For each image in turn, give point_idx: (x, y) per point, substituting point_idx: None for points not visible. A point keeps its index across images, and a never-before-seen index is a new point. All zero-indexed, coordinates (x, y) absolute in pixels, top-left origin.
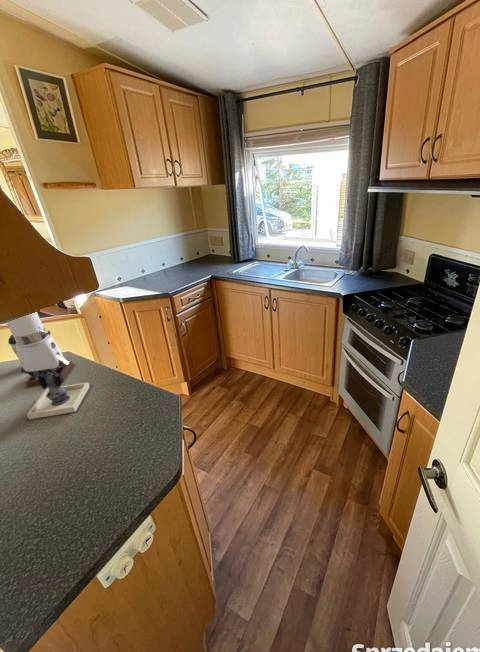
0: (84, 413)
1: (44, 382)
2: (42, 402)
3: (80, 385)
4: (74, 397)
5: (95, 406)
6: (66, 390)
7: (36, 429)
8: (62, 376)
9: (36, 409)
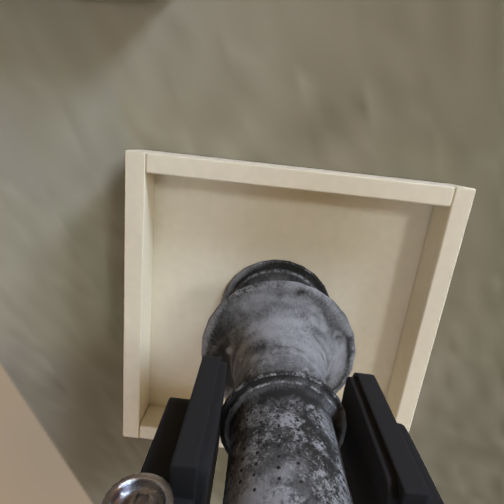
0: (437, 467)
1: (212, 474)
2: (152, 288)
3: (404, 200)
4: (362, 308)
5: (496, 432)
6: (353, 357)
7: (213, 495)
8: (423, 465)
9: (147, 360)
